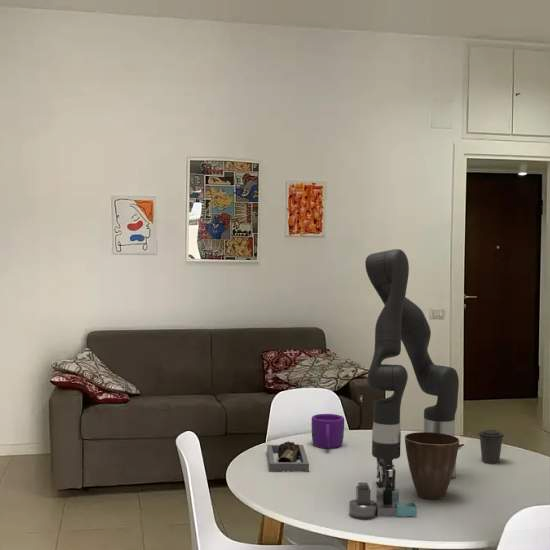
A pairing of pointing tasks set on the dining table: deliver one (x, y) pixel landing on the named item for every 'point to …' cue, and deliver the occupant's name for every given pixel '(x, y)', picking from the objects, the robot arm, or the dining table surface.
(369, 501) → the ratchet
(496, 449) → the coffee cup
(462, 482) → the dining table surface
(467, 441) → the dining table surface
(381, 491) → the square metal tube
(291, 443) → the rough wooden branch
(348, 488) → the dining table surface
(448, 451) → the plant pot
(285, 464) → the gray rectangular tray
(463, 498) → the dining table surface
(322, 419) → the mug
